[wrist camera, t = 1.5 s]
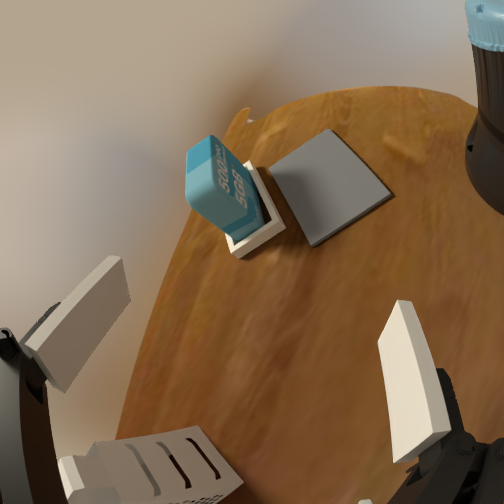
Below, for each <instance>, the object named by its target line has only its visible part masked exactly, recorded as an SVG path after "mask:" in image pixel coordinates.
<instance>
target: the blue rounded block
mask: <svg viewBox="0 0 504 504" xmlns="http://www.w3.org/2000/svg"><path fill="white" fill-rule="evenodd" d="M185 195H186V199H187V202H188V203H189V205H190V206H191V207H192V208H193V209H194V210H195V211H196V212H198V213H199V214H200V215H202V216H203V217H205V218H206V219H207V220H209V221H210V222H211V223H213V224H214V225H215V226H217V227H218V228H219V229H221V230H222V231H223V232H225V233H226V234H227V235H229V236H230V237H231V238H233V239H234V240H235V241H241V240H243V239H245V238H247V237H248V236H249V235H251V234H252V233H254V232H255V231H257V230H258V229H260V228H261V227H263V226H264V225H265V223H264V219H263V214H262V210H261V205H260V201H259V196H258V192H257V188H256V184H255V182H254V180H253V178H252V176H251V174H250V172H249V171H248V170H247V169H246V168H245V167H244V166H243V165H242V164H241V163H240V162H239V161H238V159H237V158H236V157H235V156H234V155H233V154H232V153H231V152H230V151H229V150H228V149H227V148H226V147H225V146H224V145H223V144H222V143H221V142H220V141H219V140H218V139H217V138H216V137H215V136H213V135H210V136H208V137H207V138H205V139H204V140H202V141H201V142H200V143H199V144H197V145H195V146H194V147H193V148H191V149H190V150H188V152H187V163H186V190H185Z"/></svg>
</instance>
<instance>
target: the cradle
mask: <svg viewBox="0 0 504 504" xmlns="http://www.w3.org/2000/svg"><path fill="white" fill-rule="evenodd" d="M243 166H244V167H245V168H246V169H247V170H248V171H249V172H250V174H251V176H252V178H253V180H254V182H255V184H256V186H257V188H258V191H259V193H260V195H261V197H262V199H263V201H264V203H265V205H266V207H267V210H268V212H269V214H270V216H271V218H272V221H270V222H269V223H267V224H266V225H264V226H263V227H261V228H260V229H258V230H257V231H255V232H254V233H252V234H251V235H249V236H248V237H247V238H245V239H244V240H242V241H241V242H239V241H235V240H234V239H233V238H231V237H230V236H229V235H227V234H226V233H225V235H226V238H227V242H228V245H229V249H230V252H231V254H233V255H234V256H236V257H237V258H239V259H240V258H241V257H243V256H244V255H246V254H247V253H249V252H250V251H252V250H253V249H255V248H257V247H258V246H260V245H261V244H263V243H264V242H266V241H267V240H269V239H270V238H272V237H273V236H275V235H276V234H278V233H279V232H281V231H282V230H284V229H285V228H286V227H285V225H284V223H283V221H282V219H281V217H280V215H279V213H278V211H277V209H276V207H275V205H274V203H273V201H272V199H271V197H270V195H269V193H268V191H267V189H266V187H265V185H264V183H263V181H262V179H261V177H260V175H259V173H258V171H257V170H256V168H255V166H254V165H253V164H252V163H251V162H250V161H248V162H246V163H245V164H244V165H243Z"/></svg>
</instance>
